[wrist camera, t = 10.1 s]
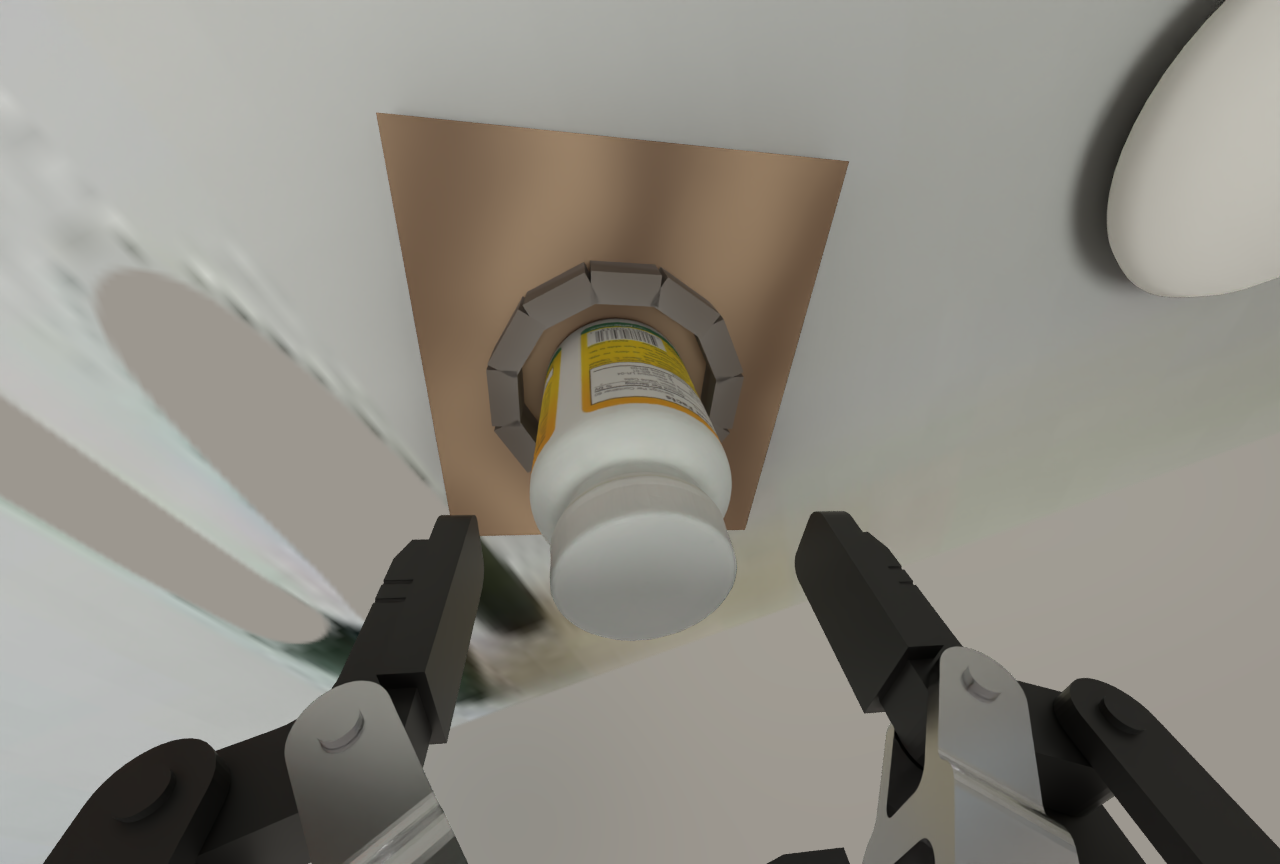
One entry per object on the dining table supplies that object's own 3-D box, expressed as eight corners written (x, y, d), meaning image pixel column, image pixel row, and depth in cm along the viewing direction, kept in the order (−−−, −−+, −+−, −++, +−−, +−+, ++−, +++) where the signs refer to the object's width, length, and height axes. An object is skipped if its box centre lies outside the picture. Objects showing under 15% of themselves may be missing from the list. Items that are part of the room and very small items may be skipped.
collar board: (827, 160, 16) (875, 163, 13) (736, 509, 24) (754, 552, 21) (394, 115, 14) (353, 109, 11) (461, 514, 22) (446, 561, 19)
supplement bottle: (632, 284, 16) (693, 432, 8) (707, 394, 18) (811, 589, 10) (513, 371, 17) (457, 579, 9) (600, 461, 19) (618, 685, 11)
